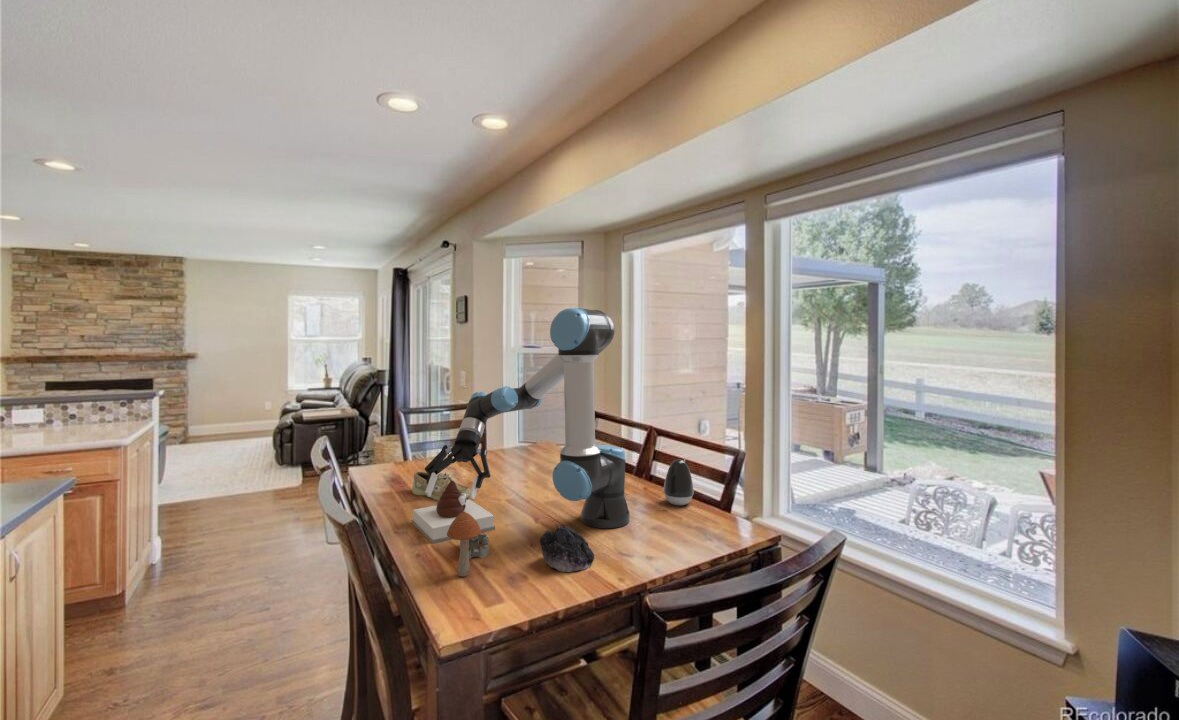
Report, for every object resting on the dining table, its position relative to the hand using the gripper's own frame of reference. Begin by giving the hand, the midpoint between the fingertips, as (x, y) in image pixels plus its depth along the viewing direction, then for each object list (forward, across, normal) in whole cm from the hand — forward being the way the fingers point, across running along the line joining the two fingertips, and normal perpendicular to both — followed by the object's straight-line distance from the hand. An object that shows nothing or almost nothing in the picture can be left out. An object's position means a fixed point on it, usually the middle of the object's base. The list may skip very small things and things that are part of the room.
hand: (449, 496), depth 149 cm
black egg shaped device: (-20, -66, -34) cm, 77 cm away
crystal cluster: (+17, -38, +3) cm, 42 cm away
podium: (+5, 0, -8) cm, 10 cm away
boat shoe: (-13, +16, -27) cm, 34 cm away
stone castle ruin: (+16, -13, +2) cm, 21 cm away
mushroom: (+25, -16, +11) cm, 32 cm away
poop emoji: (+3, 0, -6) cm, 6 cm away
